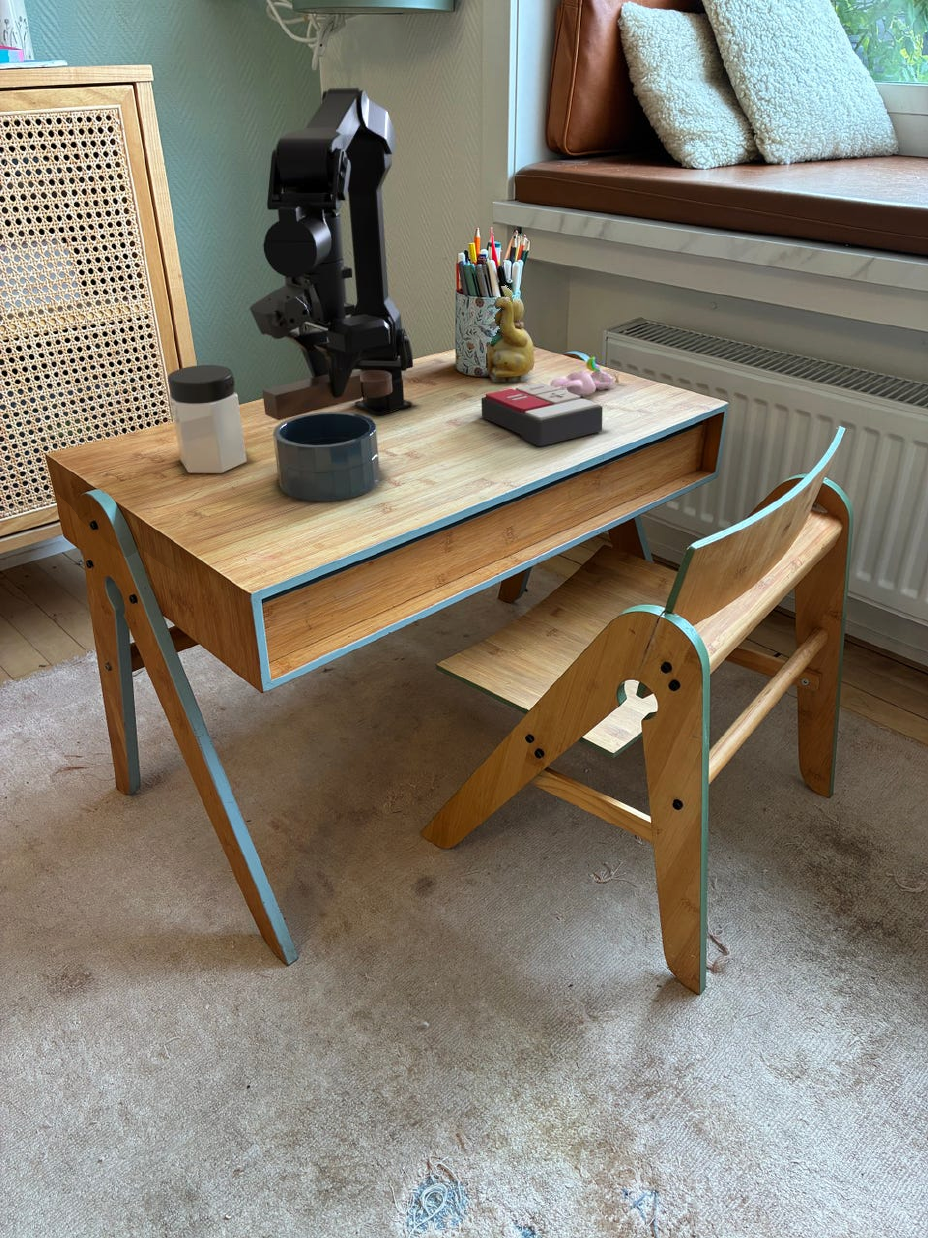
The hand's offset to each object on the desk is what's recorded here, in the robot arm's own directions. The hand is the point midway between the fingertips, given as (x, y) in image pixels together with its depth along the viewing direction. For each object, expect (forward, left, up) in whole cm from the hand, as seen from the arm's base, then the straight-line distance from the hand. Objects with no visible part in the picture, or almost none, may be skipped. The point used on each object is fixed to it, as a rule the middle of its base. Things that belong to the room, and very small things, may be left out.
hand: (330, 393), depth 119 cm
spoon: (0, 0, -1) cm, 1 cm away
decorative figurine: (-17, +45, -11) cm, 49 cm away
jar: (-16, -9, -11) cm, 22 cm away
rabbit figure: (-2, +47, -11) cm, 48 cm away
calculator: (+3, +33, -11) cm, 35 cm away
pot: (0, -1, -11) cm, 11 cm away
